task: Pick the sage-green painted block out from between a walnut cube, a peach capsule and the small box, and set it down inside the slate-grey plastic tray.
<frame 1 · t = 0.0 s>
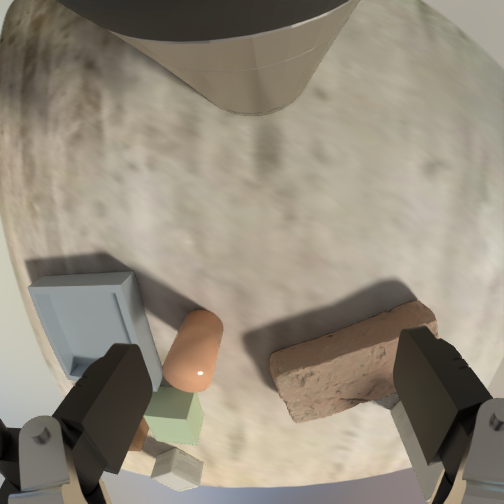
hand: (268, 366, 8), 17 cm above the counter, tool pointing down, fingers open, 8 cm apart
skincare box: (423, 399, 31), on the counter
small box: (180, 458, 38), on the counter
green block: (180, 400, 33), on the counter
brick: (353, 353, 29), on the counter
tray: (100, 326, 29), on the counter
walnut cube: (127, 413, 35), on the counter
peach capsule: (203, 327, 28), on the counter
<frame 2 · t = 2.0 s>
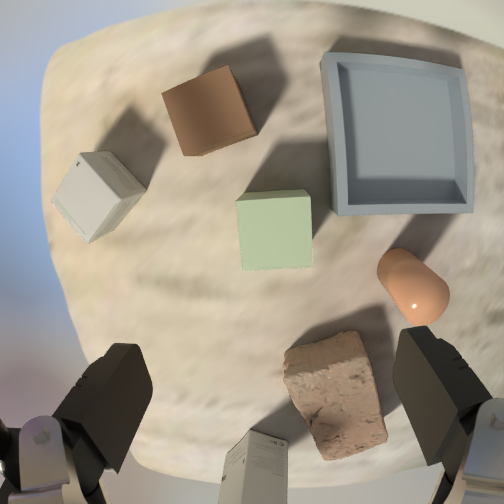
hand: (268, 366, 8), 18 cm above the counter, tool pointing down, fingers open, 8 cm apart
skincare box: (256, 448, 35), on the counter
small box: (112, 191, 26), on the counter
green block: (276, 220, 25), on the counter
brick: (337, 389, 31), on the counter
tray: (397, 135, 22), on the counter
walnut cube: (219, 118, 23), on the counter
peach capsule: (396, 268, 26), on the counter
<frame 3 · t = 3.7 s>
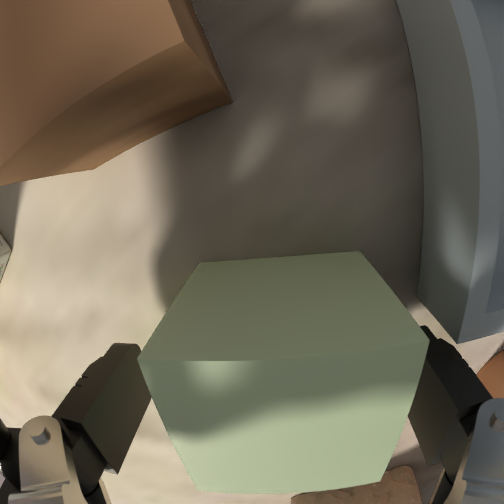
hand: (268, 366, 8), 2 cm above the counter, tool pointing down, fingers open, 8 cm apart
green block: (284, 326, 10), on the counter
walnut cube: (133, 69, 8), on the counter
peach capsule: (495, 379, 10), on the counter
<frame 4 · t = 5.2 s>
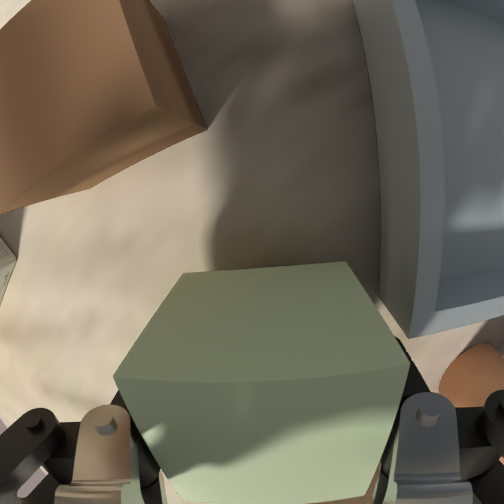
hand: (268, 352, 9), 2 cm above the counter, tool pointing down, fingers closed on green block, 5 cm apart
green block: (269, 337, 10), point 1 cm above the counter, touching gripper
brick: (355, 501, 17), on the counter
tray: (501, 136, 8), on the counter
walnut cube: (121, 99, 9), on the counter
peach capsule: (468, 373, 12), on the counter
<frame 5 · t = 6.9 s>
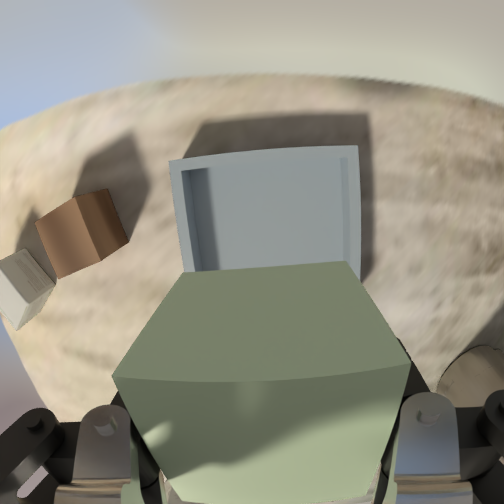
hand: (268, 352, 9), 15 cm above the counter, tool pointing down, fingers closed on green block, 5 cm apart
skincare box: (188, 480, 36), on the counter
small box: (33, 280, 27), on the counter
green block: (269, 337, 10), point 14 cm above the counter, touching gripper
tray: (270, 233, 23), on the counter
walnut cube: (97, 225, 24), on the counter
when the fingers open (3 cm above the counter, at t = 9.4 s): green block drops 2 cm, resting on tray.
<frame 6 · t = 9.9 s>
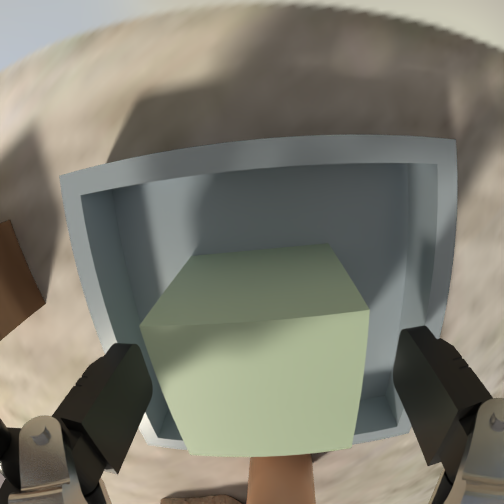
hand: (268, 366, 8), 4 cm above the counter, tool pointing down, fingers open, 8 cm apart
green block: (265, 311, 12), point 1 cm above the counter, touching tray
tray: (269, 303, 12), on the counter
walnut cube: (6, 274, 13), on the counter
peach capsule: (280, 461, 16), on the counter
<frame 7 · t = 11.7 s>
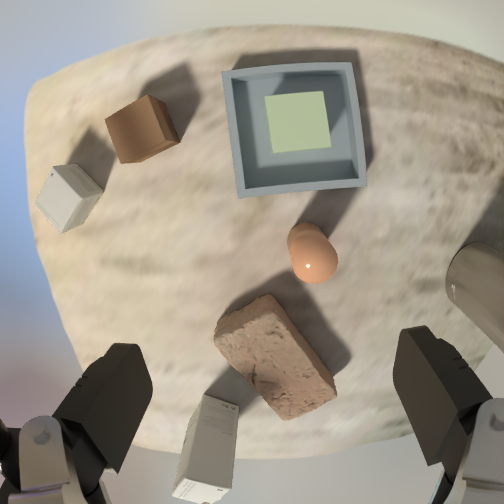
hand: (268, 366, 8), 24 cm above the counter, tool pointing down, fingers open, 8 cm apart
skincare box: (214, 414, 41), on the counter
small box: (80, 194, 32), on the counter
green block: (293, 127, 28), point 1 cm above the counter, touching tray
brick: (277, 352, 38), on the counter
tray: (294, 128, 29), on the counter
walnut cube: (152, 132, 30), on the counter
peach capsule: (305, 240, 32), on the counter
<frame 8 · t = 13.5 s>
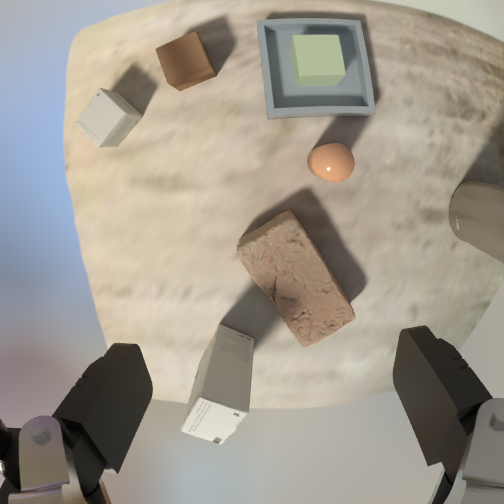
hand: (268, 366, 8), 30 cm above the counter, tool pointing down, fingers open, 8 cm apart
skincare box: (227, 349, 44), on the counter
small box: (118, 120, 35), on the counter
green block: (313, 67, 31), point 1 cm above the counter, touching tray
brick: (296, 273, 40), on the counter
tray: (313, 69, 31), on the counter
walnut cube: (192, 67, 32), on the counter
peach capsule: (323, 161, 35), on the counter
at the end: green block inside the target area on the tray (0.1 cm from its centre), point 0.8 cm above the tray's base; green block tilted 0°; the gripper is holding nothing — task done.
